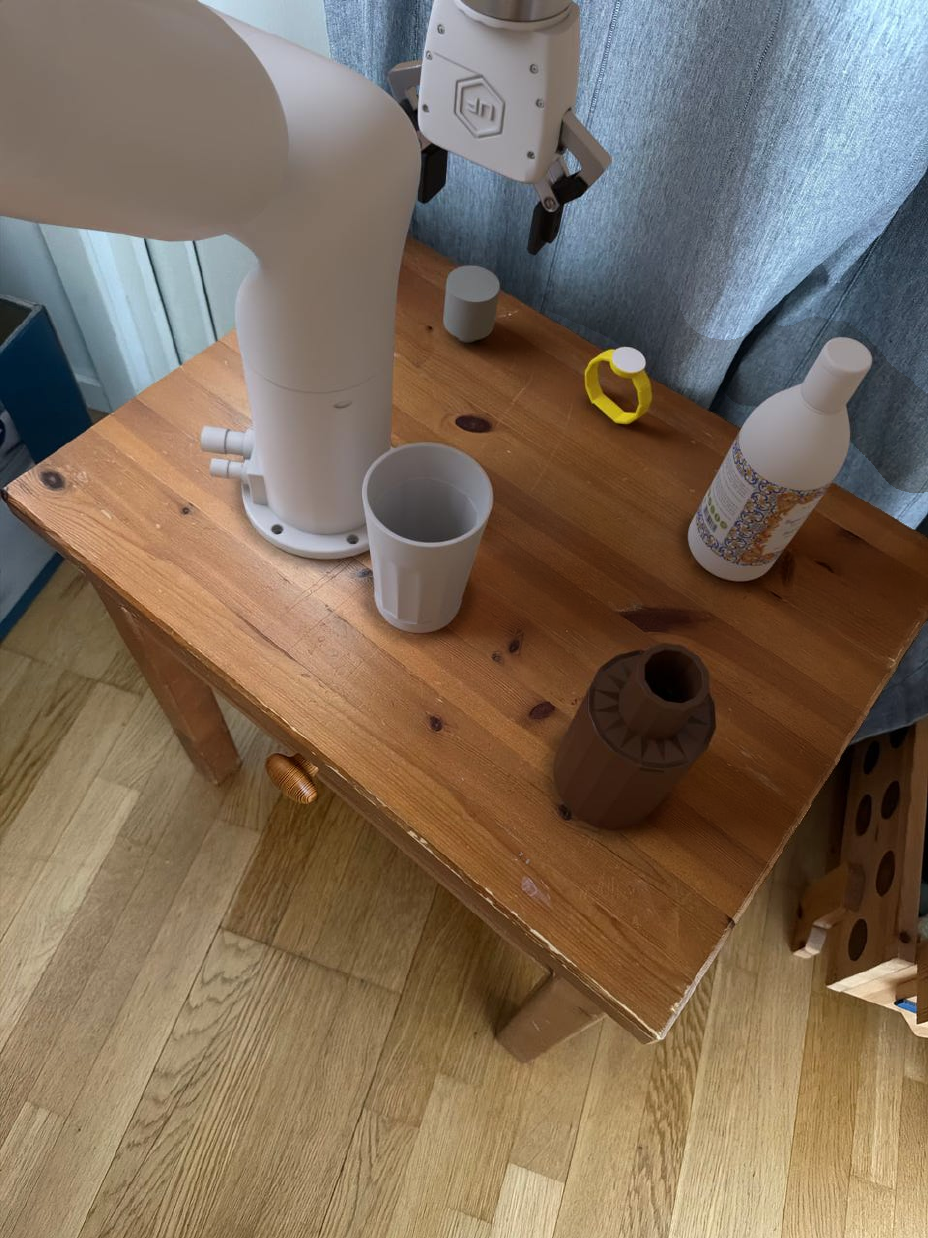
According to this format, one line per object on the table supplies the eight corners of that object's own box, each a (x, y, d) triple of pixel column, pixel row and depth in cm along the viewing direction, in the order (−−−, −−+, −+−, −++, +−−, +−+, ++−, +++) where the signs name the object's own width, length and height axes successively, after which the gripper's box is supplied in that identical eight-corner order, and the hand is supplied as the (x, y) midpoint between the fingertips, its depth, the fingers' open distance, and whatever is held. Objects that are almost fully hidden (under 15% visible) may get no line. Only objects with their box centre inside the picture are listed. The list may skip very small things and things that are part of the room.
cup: (372, 542, 67) (373, 433, 56) (478, 556, 67) (498, 451, 57) (354, 635, 63) (352, 536, 52) (467, 650, 63) (487, 555, 53)
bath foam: (726, 599, 67) (850, 414, 50) (667, 533, 70) (766, 335, 52) (791, 560, 69) (931, 371, 52) (732, 497, 72) (847, 297, 55)
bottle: (550, 822, 57) (603, 731, 44) (555, 719, 61) (605, 607, 48) (661, 835, 58) (746, 749, 45) (659, 732, 61) (737, 624, 48)
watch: (572, 397, 76) (587, 344, 71) (593, 382, 77) (610, 328, 72) (625, 439, 74) (644, 388, 69) (646, 423, 75) (667, 371, 70)
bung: (439, 349, 77) (444, 297, 72) (444, 314, 79) (449, 261, 75) (489, 356, 77) (497, 305, 73) (493, 321, 80) (501, 269, 75)
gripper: (359, -54, 54) (363, 199, 69) (614, 51, 51) (561, 293, 66) (425, -100, 57) (415, 151, 72) (668, -4, 54) (605, 237, 69)
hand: (485, 218), depth 69 cm, fingers open, 9 cm apart
